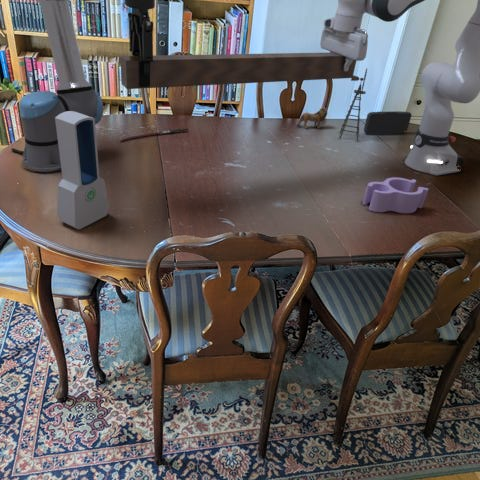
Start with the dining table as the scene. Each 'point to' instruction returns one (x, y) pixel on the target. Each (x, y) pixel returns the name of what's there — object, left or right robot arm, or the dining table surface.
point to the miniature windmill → (354, 106)
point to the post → (234, 69)
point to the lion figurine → (313, 117)
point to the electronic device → (79, 171)
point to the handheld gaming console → (387, 122)
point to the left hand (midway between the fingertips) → (141, 83)
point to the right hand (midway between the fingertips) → (338, 68)
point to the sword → (154, 134)
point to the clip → (394, 196)
